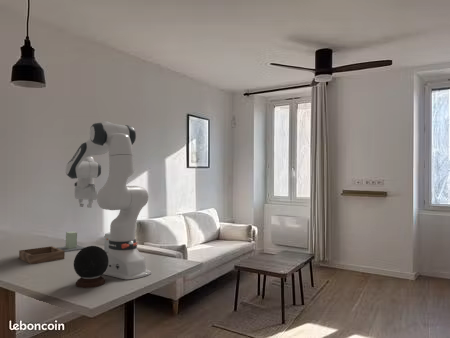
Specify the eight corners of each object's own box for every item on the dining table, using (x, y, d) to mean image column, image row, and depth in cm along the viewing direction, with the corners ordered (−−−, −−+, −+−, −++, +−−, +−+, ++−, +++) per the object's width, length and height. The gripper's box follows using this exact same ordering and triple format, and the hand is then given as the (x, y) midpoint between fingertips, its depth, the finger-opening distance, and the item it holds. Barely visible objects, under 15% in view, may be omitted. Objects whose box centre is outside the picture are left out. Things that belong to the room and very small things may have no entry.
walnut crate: (64, 258, 176) (64, 250, 176) (30, 264, 164) (31, 255, 164) (51, 253, 186) (51, 246, 186) (19, 258, 174) (19, 250, 174)
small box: (121, 250, 198) (122, 232, 198) (117, 252, 192) (118, 234, 192) (108, 250, 198) (108, 232, 199) (103, 252, 193) (104, 233, 193)
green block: (76, 247, 199) (77, 232, 200) (68, 248, 196) (69, 233, 196) (73, 246, 202) (73, 231, 203) (65, 247, 199) (66, 232, 199)
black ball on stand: (111, 278, 144) (113, 243, 144) (102, 288, 131) (103, 249, 131) (80, 278, 143) (81, 242, 144) (67, 288, 130) (68, 249, 131)
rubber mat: (85, 248, 200) (85, 247, 200) (65, 251, 191) (65, 250, 191) (76, 245, 208) (76, 244, 208) (56, 248, 199) (56, 247, 199)
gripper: (100, 184, 197) (99, 207, 197) (82, 183, 211) (82, 205, 210) (89, 184, 193) (89, 208, 192) (72, 183, 206) (72, 206, 205)
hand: (85, 207), depth 201 cm, fingers open, 8 cm apart
